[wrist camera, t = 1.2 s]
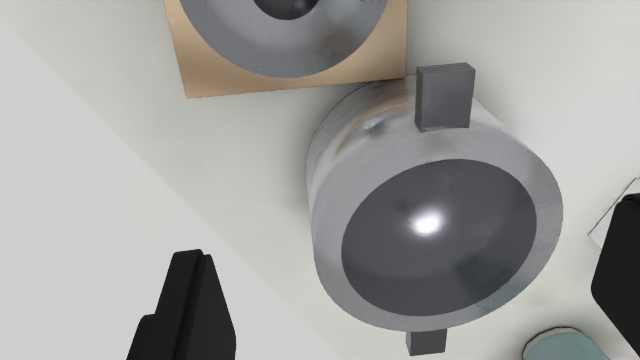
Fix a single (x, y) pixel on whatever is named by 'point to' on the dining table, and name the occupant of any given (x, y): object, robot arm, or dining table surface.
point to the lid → (284, 32)
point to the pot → (426, 206)
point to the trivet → (227, 78)
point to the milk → (602, 227)
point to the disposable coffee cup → (563, 346)
